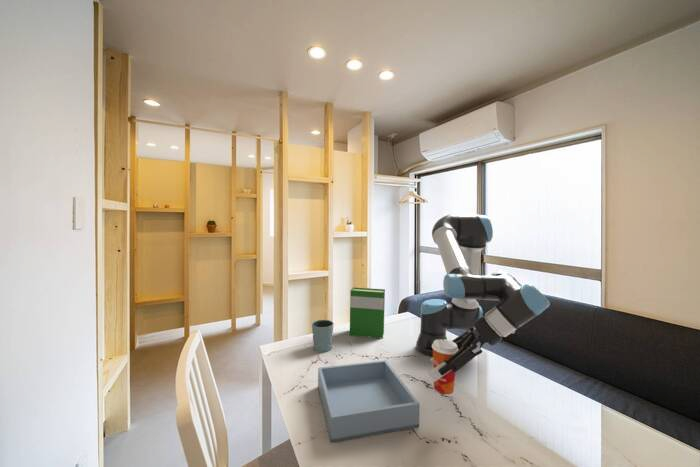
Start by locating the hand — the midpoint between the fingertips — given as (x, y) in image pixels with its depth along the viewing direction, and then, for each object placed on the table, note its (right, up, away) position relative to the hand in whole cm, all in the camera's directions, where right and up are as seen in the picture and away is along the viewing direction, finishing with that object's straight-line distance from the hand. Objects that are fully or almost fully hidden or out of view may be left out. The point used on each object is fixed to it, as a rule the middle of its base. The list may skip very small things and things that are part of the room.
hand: (432, 370), depth 83 cm
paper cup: (+3, -5, -1) cm, 6 cm away
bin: (-21, -14, +5) cm, 26 cm away
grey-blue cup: (-38, -12, +45) cm, 60 cm away
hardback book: (-16, -12, +63) cm, 66 cm away
